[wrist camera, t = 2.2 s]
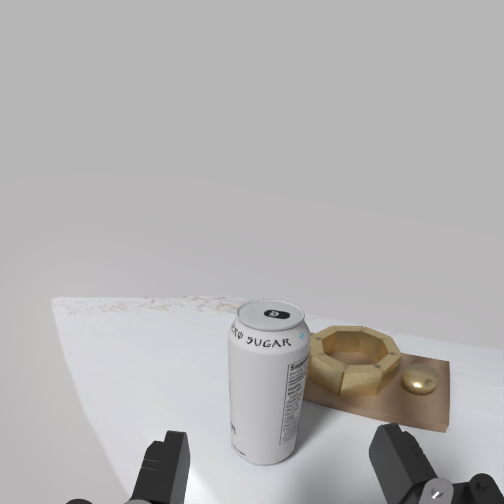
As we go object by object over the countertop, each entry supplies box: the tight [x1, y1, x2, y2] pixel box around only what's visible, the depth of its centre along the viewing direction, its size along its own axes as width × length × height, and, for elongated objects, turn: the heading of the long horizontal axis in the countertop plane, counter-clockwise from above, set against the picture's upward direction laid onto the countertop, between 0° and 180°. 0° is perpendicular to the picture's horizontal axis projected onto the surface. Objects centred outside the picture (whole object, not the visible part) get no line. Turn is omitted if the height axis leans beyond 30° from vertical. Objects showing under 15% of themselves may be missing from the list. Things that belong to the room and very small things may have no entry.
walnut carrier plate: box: [303, 333, 450, 432], centre depth 35 cm, size 24×14×1 cm, turn 58°
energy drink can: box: [228, 299, 311, 466], centre depth 23 cm, size 6×6×15 cm
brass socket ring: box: [307, 326, 440, 397], centre depth 34 cm, size 17×12×4 cm
